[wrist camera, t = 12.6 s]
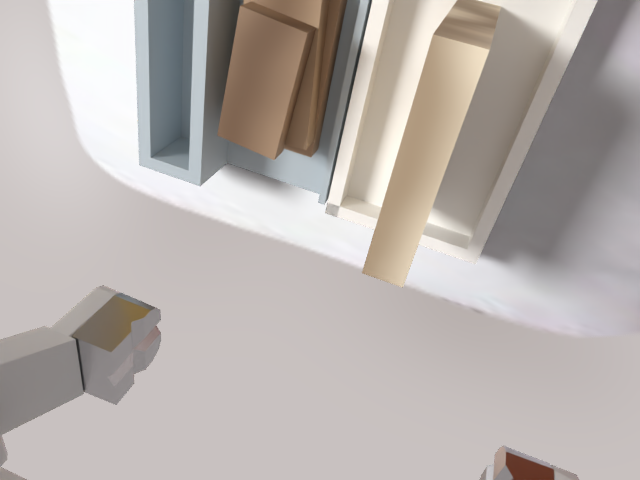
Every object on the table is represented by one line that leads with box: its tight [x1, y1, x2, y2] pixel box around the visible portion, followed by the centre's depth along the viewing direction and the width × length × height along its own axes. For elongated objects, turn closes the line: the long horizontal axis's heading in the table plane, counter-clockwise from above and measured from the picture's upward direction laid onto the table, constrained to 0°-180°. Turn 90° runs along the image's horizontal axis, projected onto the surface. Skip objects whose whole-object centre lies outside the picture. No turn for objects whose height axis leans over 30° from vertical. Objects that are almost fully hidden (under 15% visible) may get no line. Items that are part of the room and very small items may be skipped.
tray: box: [325, 0, 598, 264], centre depth 28 cm, size 10×16×2 cm, turn 169°
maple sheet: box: [362, 0, 501, 288], centre depth 25 cm, size 2×11×9 cm, turn 169°
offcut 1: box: [217, 1, 316, 160], centre depth 27 cm, size 4×7×1 cm, turn 163°
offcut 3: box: [284, 0, 347, 157], centre depth 29 cm, size 5×9×1 cm, turn 169°
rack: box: [134, 0, 372, 204], centre depth 29 cm, size 12×15×4 cm
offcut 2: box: [244, 0, 330, 150], centre depth 28 cm, size 4×8×1 cm, turn 173°
